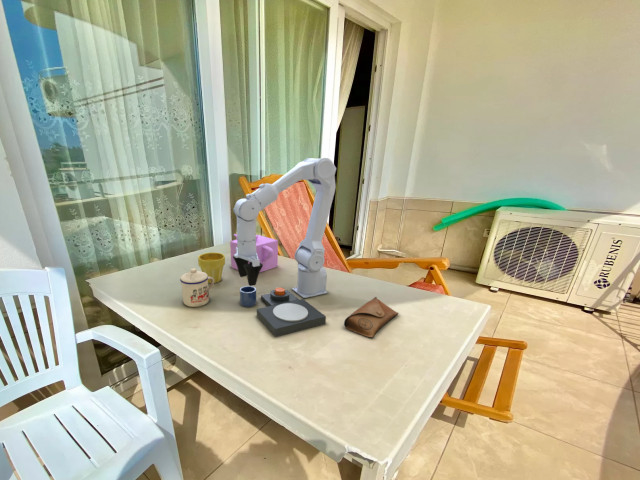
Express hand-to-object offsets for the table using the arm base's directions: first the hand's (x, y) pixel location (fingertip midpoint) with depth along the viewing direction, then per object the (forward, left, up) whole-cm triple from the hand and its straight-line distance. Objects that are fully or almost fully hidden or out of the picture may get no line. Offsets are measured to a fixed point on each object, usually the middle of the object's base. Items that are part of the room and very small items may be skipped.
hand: (247, 280), depth 97 cm
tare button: (-10, +3, -5) cm, 12 cm away
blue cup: (0, 0, -8) cm, 8 cm away
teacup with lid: (+14, -9, -8) cm, 19 cm away
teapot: (-15, -31, -8) cm, 35 cm away
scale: (-7, +15, -8) cm, 18 cm away
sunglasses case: (-28, +25, -8) cm, 38 cm away
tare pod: (-10, +3, -8) cm, 13 cm away
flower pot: (+5, -24, -8) cm, 26 cm away
